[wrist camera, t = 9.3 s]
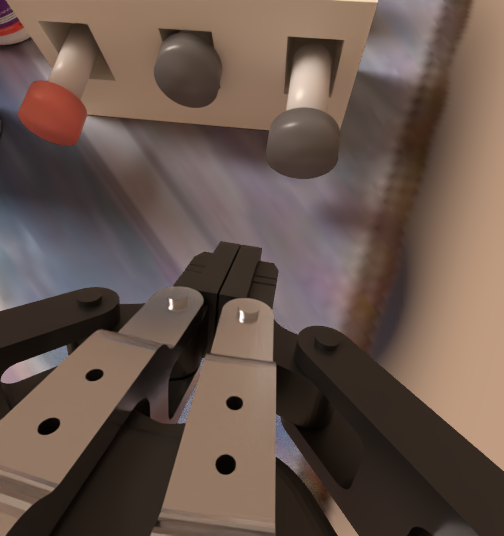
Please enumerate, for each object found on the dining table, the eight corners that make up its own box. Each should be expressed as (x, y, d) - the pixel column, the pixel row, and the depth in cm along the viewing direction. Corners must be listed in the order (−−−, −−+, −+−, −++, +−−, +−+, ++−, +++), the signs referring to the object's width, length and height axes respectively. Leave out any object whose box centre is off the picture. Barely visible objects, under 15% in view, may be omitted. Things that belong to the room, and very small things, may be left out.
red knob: (87, 147, 27) (58, 109, 23) (41, 143, 27) (4, 104, 23) (118, 60, 30) (97, 14, 26) (76, 57, 30) (49, 11, 26)
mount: (338, 136, 32) (377, 2, 21) (83, 114, 34) (-7, -18, 23) (343, 66, 35) (380, -85, 23) (108, 50, 37) (37, -96, 26)
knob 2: (330, 181, 25) (345, 136, 21) (265, 175, 26) (265, 129, 21) (337, 90, 28) (352, 32, 23) (279, 86, 29) (281, 27, 24)
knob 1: (221, 110, 28) (212, 55, 23) (164, 105, 28) (144, 50, 24) (238, 33, 31) (233, -30, 26) (185, 30, 31) (171, -33, 26)
